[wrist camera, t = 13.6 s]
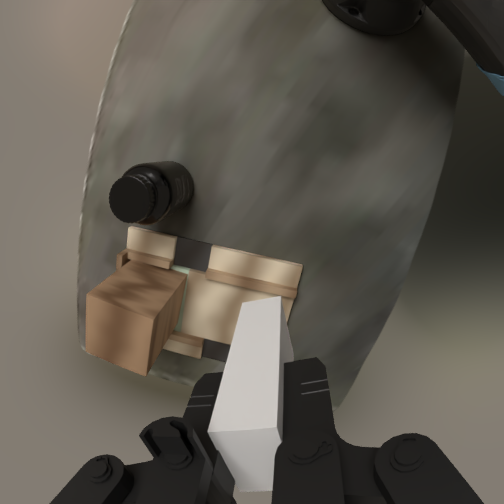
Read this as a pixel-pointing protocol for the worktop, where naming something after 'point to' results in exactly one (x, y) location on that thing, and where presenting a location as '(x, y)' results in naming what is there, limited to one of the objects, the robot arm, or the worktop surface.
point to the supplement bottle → (151, 192)
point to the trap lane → (211, 287)
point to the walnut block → (133, 314)
